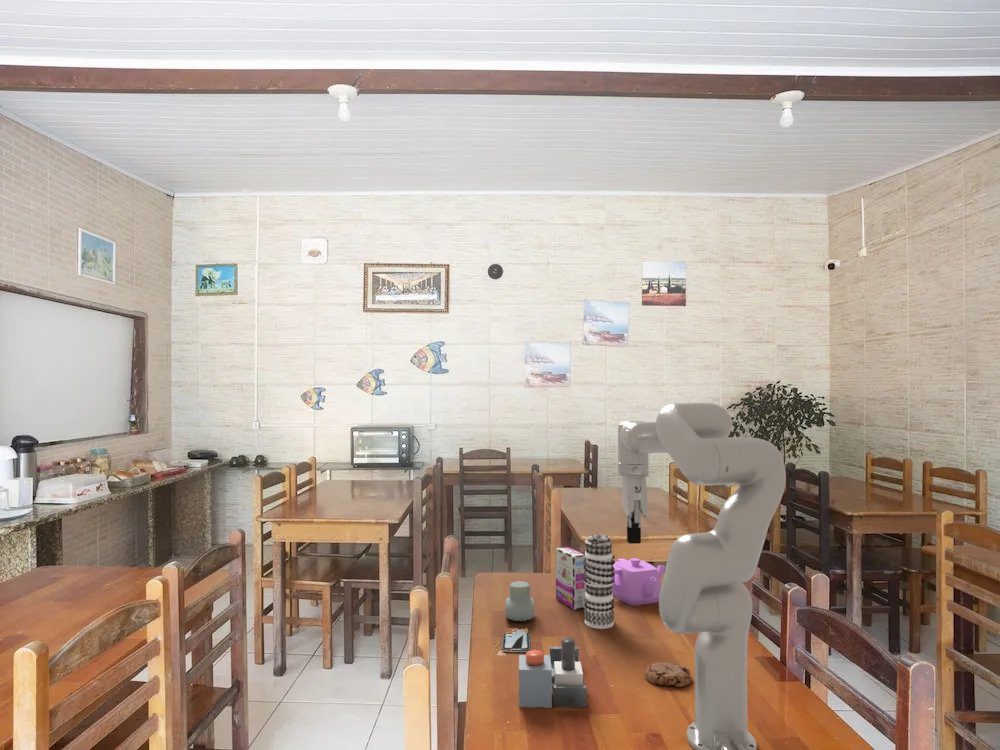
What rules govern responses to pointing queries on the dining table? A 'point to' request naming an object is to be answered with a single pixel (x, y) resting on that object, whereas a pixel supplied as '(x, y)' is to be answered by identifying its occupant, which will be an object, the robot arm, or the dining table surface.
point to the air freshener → (519, 602)
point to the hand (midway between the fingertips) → (633, 542)
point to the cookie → (668, 674)
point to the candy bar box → (570, 577)
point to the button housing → (535, 683)
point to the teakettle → (637, 581)
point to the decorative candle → (599, 582)
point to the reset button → (534, 657)
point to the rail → (567, 686)
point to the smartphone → (516, 641)
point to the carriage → (567, 666)
